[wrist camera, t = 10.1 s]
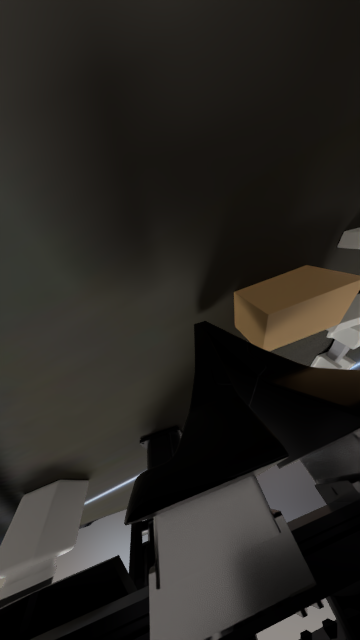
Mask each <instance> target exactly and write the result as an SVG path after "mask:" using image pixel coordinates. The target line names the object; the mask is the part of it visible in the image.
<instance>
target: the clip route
mask: <svg viewBox="0 0 360 640" xmlns="http://www.w3.org/2000/svg"><path fill="white" fill-rule="evenodd" d="M327 337H328V338H331V337H332V338H333V339H335V341H334V343H333V345H332V347H331V348H330V350H329V351H328V352H326V353H323V354H320V355H317V357H316V358H315V360H314V361H313V363H312V364H311V366H310V367H316V368H330V369H346V370H349V369H350V368H351V367H352V366H353V365H354V364H355V363H356V362H355V361H353V360H351V359H350V358H348V357H346V356H345V354H346V353H347V352H348V350H349V349H350V348H351V349H355V348H357V347H359V346H360V324H359V325H356V326H353V327H350V328H347V329H344V330H341V331H338V332H335V333H332V332H330V331H329V332H328V334H327Z"/></svg>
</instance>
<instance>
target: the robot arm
mask: <svg viewBox="0 0 360 640" xmlns="http://www.w3.org/2000/svg"><path fill="white" fill-rule="evenodd" d="M194 338H195V375H194V384H193V391H192V398H191V405H190V410H189V414H188V417H187V420H186V423H185V426H184V430H183V433H182V432H181V430H180V429H179V427H175V428H172V429H169V430H167V431H164V432H161V433H158V434H155V435H153V436H150V437H147V438H144V439H142V440H140V445H141V446H143V447H144V448H146V449H147V465H148V470H147V471H145V472H143V473H142V474H140V475H139V476H138V477H137V478H136V480H135V483H134V487H133V490H132V493H131V497H130V500H129V504H128V507H127V512H126V516H125V522H124V524H125V525H129V524H131V543H130V563H129V573H128V572H127V570H126V568H125V566H124V564H123V562H122V560H121V558H120V556H119V555H118V556H115V557H113V558H111V559H109V560H106V561H104V562H102V563H99V564H97V565H95V566H92V567H90V568H88V569H85V570H83V571H80V572H78V573H76V574H73V575H71V576H69V577H66V578H64V579H62V580H60V581H57V582H55V583H52V584H50V585H48V586H45V587H43V588H41V589H39V590H37V591H35V592H32V593H30V594H28V595H26V596H24V597H22V598H19V599H17V600H15V601H13V602H11V603H9V604H7V605H5V606H3V607H1V608H0V640H258V639H257V635H256V634H257V633H259V632H260V631H263V630H264V629H266V628H268V627H270V626H272V625H274V624H276V623H278V622H280V621H282V620H284V619H286V618H288V617H290V616H292V615H293V614H297V615H299V616H301V617H306V616H307V607H309V606H314V607H316V608H318V609H321V608H323V607H324V605H323V600H322V599H324V598H326V599H327V601H328V603H329V605H330V607H331V609H332V611H333V613H334V615H335V617H336V620H335V621H332V620H330V619H326V620H324V621H322V624H323V627H322V628H320V629H318V630H316V631H314V632H312V633H311V632H309V631H307V630H305V631H303V632H301V633H300V634H301V639H299V640H360V370H346V369H330V368H316V367H310V366H306V365H303V364H300V363H297V362H294V361H292V360H289V359H287V358H284V357H282V356H279V355H277V354H274V353H272V352H269V351H267V350H264V349H262V348H260V347H258V346H256V345H253V344H251V343H249V342H247V341H245V340H243V339H241V338H239V337H237V336H235V335H233V334H231V333H229V332H227V331H225V330H223V329H221V328H219V327H217V326H215V325H213V324H211V323H209V322H206V321H203V322H200V323H197V324H194ZM299 460H300V461H301V462H302V464H303V465H304V467H305V468H306V470H307V471H308V473H309V474H310V475H311V477H312V478H313V480H314V481H315V483H316V485H315V487H316V489H317V490H318V492H319V493H320V495H321V496H322V498H323V499H324V501H325V502H326V504H327V505H325V506H323V507H321V508H319V509H316V510H314V511H312V512H310V513H308V514H305V515H303V516H301V517H299V518H297V519H294V520H292V521H290V522H288V523H286V521H285V519H284V517H283V515H282V513H281V512H280V511H279V510H275V509H270V507H269V505H268V502H267V501H266V498H265V496H264V494H263V492H262V489H261V487H260V485H259V483H258V481H257V478H256V476H258V475H260V474H261V473H263V472H265V471H266V470H268V469H270V468H271V467H273V466H275V465H276V464H277V466H278V467H279V469H280V468H282V467H284V466H287V465H290V464H292V463H294V462H297V461H299ZM146 519H147V520H146ZM143 520H145V521H143ZM146 534H148V541H147V542H144V543H142V536H144V535H146Z"/></svg>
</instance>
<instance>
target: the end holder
mask: <svg viewBox="0 0 360 640" xmlns="http://www.w3.org/2000/svg"><path fill="white" fill-rule="evenodd" d="M337 248H350V249H360V227H359V228H356V229H352V230H348V231H344V233H343V235H342V237H341V240H340V242H339V244H338V246H337ZM359 324H360V294H357V295H356V297H355V298H354V300H353V302H352V303H351V305H350V307H349V308H348V310H347V312H346V313H345V315H344V317H343V318H342V320H341V322H340V324H338V325H336V326H333V327H330V328H328V329H326V330H328V331H330V332H332V333H335V332H338V331H341V330H344V329H347V328H350V327H353V326H356V325H359Z"/></svg>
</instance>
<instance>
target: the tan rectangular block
mask: <svg viewBox="0 0 360 640" xmlns="http://www.w3.org/2000/svg"><path fill="white" fill-rule="evenodd" d="M359 290H360V276H359V275H354V274H349V273H344V272H339V271H334V270H329V269H324V268H319V267H314V266H309V265H305V266H303V267H300V268H297V269H295V270H292V271H289V272H287V273H284V274H281V275H278V276H276V277H273V278H270V279H268V280H265V281H262V282H260V283H257V284H254V285H251V286H249V287H246V288H243V289H241V290H238V291H235V292H234V314H235V327H236V328H237V329H238V330H239V331H240V332H241V333H242V334H243V335H244V336H245V337H246V338H247V339H248V340H249V341H250V342H251V343H252V344H253V345H256V346H258V347H260V348H262V349H264V350H267V351H271V350H274V349H276V348H279V347H282V346H284V345H287V344H289V343H292V342H294V341H297V340H300V339H302V338H305V337H307V336H310V335H312V334H315V333H318V332H320V331H323V330H325V329H328V328H330V327H333V326H336V325H338V324H340V322H341V320H342V318H343V317H344V315H345V313H346V312H347V310H348V308H349V307H350V305H351V303H352V302H353V300H354V298H355V297H356V295H357V293H358V292H359Z"/></svg>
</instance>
